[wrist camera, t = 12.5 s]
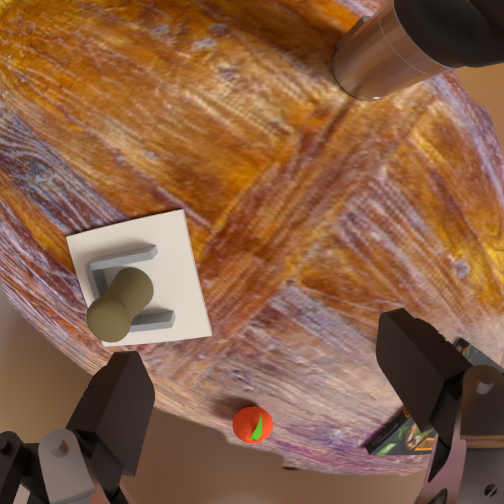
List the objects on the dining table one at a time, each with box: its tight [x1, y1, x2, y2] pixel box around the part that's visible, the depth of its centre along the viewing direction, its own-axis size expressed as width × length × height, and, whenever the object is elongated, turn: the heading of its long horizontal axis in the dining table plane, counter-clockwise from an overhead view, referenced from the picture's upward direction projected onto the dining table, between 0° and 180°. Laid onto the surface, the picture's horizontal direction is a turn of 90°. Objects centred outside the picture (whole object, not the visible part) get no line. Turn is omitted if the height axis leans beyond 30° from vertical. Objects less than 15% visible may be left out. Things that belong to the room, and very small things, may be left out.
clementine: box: [232, 406, 273, 443], centre depth 41 cm, size 8×7×7 cm
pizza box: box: [365, 338, 504, 455], centre depth 51 cm, size 35×35×4 cm
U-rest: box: [66, 209, 212, 346], centre depth 35 cm, size 18×18×4 cm
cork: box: [87, 267, 154, 343], centre depth 30 cm, size 6×6×11 cm
